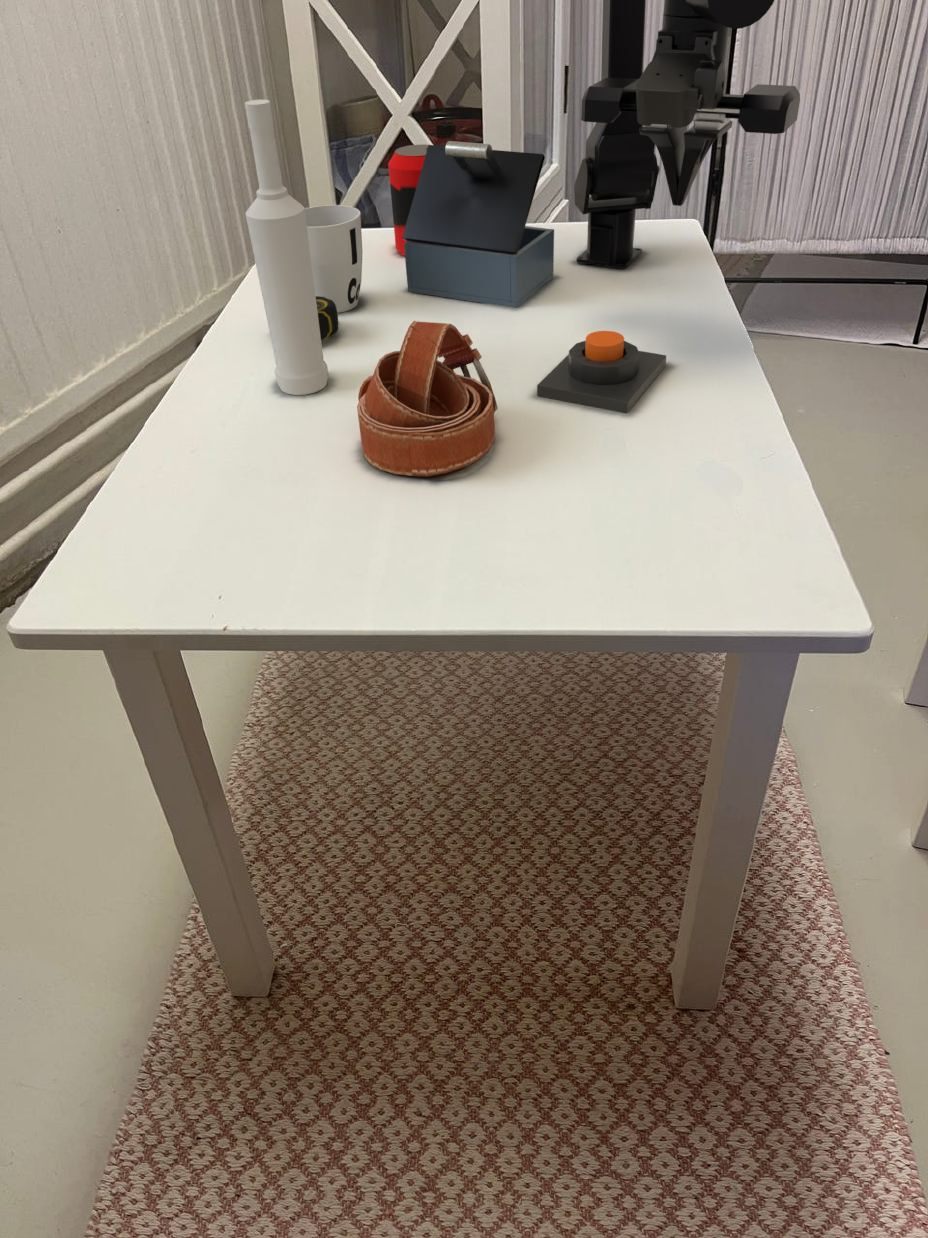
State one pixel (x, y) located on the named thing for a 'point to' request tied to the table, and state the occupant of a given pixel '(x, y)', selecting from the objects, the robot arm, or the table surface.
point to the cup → (336, 253)
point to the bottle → (284, 265)
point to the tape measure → (327, 317)
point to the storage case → (482, 270)
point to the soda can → (404, 186)
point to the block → (602, 378)
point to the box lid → (473, 197)
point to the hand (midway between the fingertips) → (678, 204)
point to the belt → (427, 405)
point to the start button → (604, 346)
